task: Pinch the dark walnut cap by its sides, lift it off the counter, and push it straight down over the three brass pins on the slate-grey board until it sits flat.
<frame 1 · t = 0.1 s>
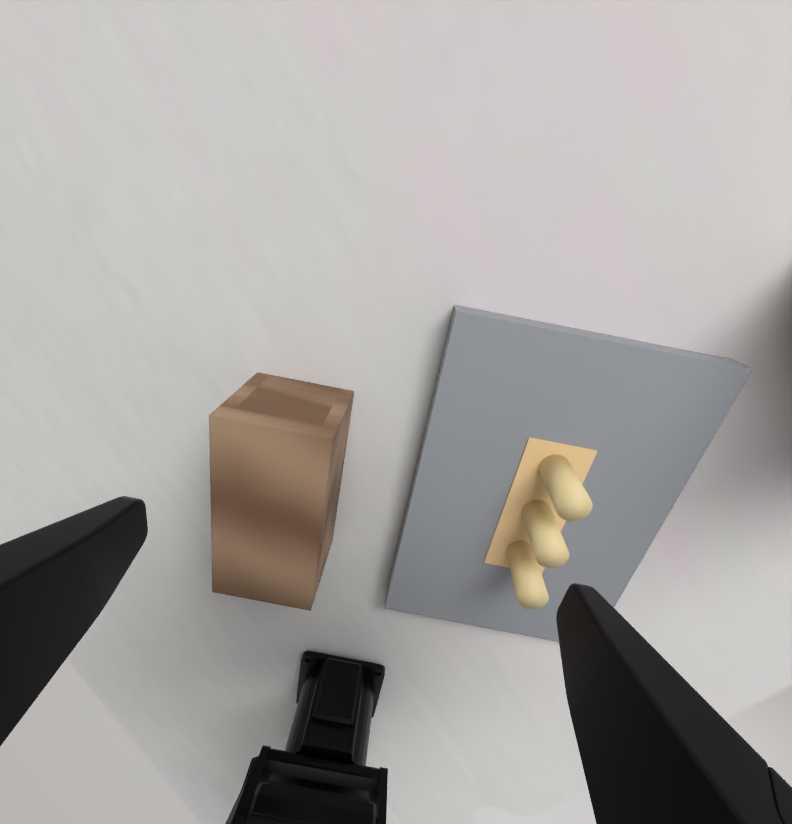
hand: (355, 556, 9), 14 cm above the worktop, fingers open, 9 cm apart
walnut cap: (298, 463, 25), on the worktop
pin board: (530, 494, 25), on the worktop
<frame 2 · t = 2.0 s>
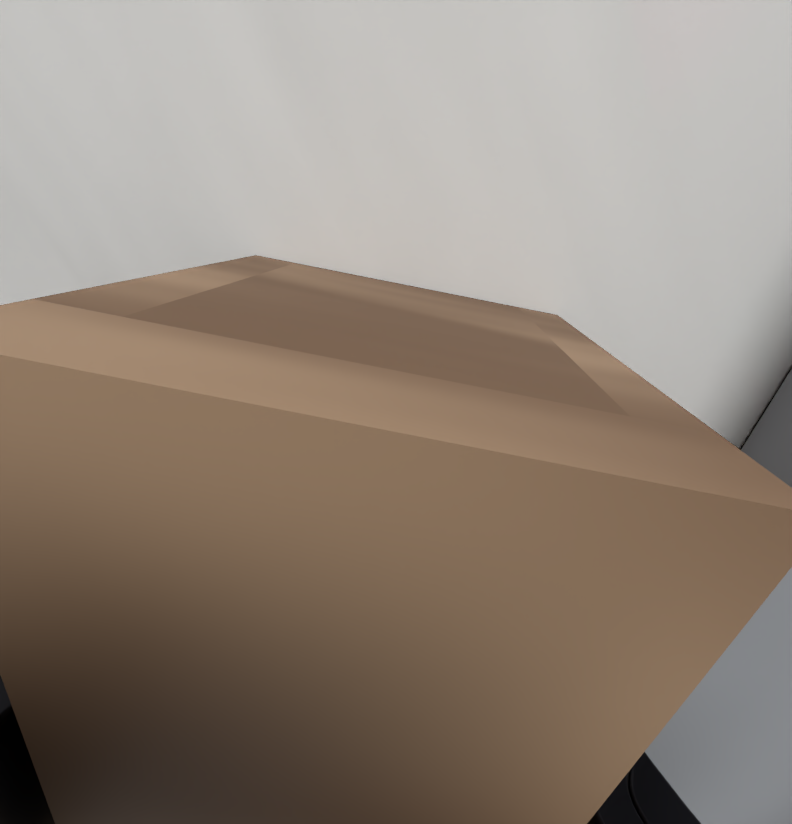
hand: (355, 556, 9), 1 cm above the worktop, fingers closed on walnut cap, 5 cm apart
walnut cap: (362, 523, 10), on the worktop, touching gripper
when the fingers open (3 cm above the worktop, at t = 7.1 s): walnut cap stays where it is, resting on pin board.
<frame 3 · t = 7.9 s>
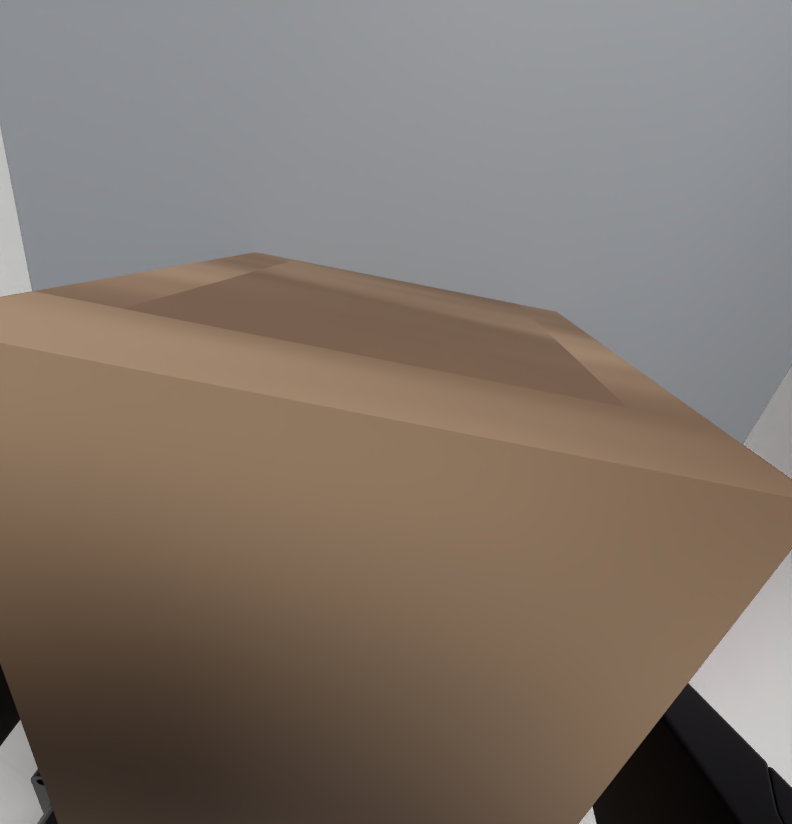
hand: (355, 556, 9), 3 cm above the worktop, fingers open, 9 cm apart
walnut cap: (362, 520, 10), point 1 cm above the worktop, touching pin board
pin board: (371, 485, 11), on the worktop
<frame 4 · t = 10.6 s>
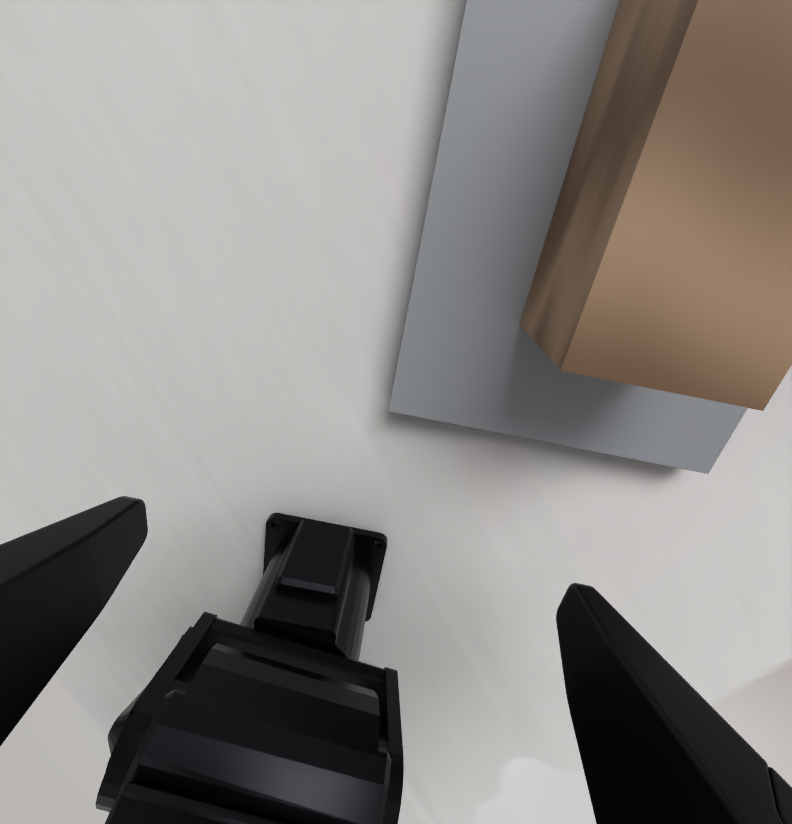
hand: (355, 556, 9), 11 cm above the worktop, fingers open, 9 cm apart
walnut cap: (650, 177, 13), point 1 cm above the worktop, touching pin board
pin board: (630, 183, 15), on the worktop
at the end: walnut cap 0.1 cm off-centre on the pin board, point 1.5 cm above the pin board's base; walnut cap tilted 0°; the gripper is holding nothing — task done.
